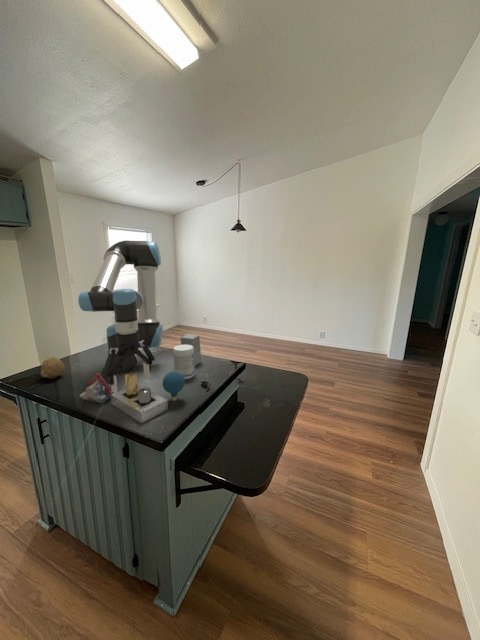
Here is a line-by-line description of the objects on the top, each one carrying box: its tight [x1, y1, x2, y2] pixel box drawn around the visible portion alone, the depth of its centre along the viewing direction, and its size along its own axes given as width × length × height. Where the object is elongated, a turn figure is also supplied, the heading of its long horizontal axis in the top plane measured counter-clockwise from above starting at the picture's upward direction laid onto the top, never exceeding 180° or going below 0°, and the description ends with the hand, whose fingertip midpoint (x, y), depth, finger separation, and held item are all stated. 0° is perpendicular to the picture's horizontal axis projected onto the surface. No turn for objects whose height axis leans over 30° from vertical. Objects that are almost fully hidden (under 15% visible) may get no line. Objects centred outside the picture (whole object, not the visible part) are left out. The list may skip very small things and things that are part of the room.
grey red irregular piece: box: [78, 372, 114, 404], centre depth 100 cm, size 11×11×12 cm
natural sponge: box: [40, 356, 66, 379], centre depth 118 cm, size 9×9×10 cm
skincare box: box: [180, 333, 202, 367], centre depth 137 cm, size 8×7×16 cm
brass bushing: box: [124, 371, 139, 399], centre depth 98 cm, size 4×4×12 cm
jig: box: [110, 384, 169, 424], centre depth 96 cm, size 20×11×8 cm, turn 54°
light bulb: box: [162, 371, 186, 401], centre depth 100 cm, size 8×8×12 cm
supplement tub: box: [173, 344, 195, 380], centre depth 122 cm, size 10×10×15 cm
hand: (131, 385), depth 97 cm, fingers open, 13 cm apart
